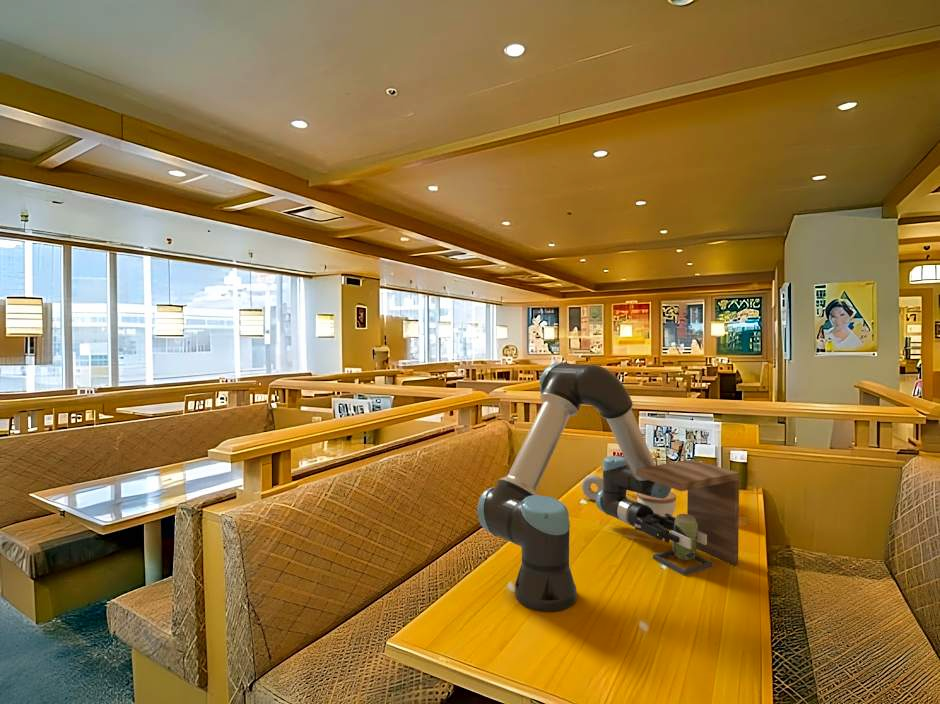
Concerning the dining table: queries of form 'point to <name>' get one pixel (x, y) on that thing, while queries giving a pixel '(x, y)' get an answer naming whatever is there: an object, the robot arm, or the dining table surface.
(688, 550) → the beverage can
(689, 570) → the grey square frame
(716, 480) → the walnut shelf
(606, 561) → the dining table surface
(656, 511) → the lidded bowl
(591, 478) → the donut
